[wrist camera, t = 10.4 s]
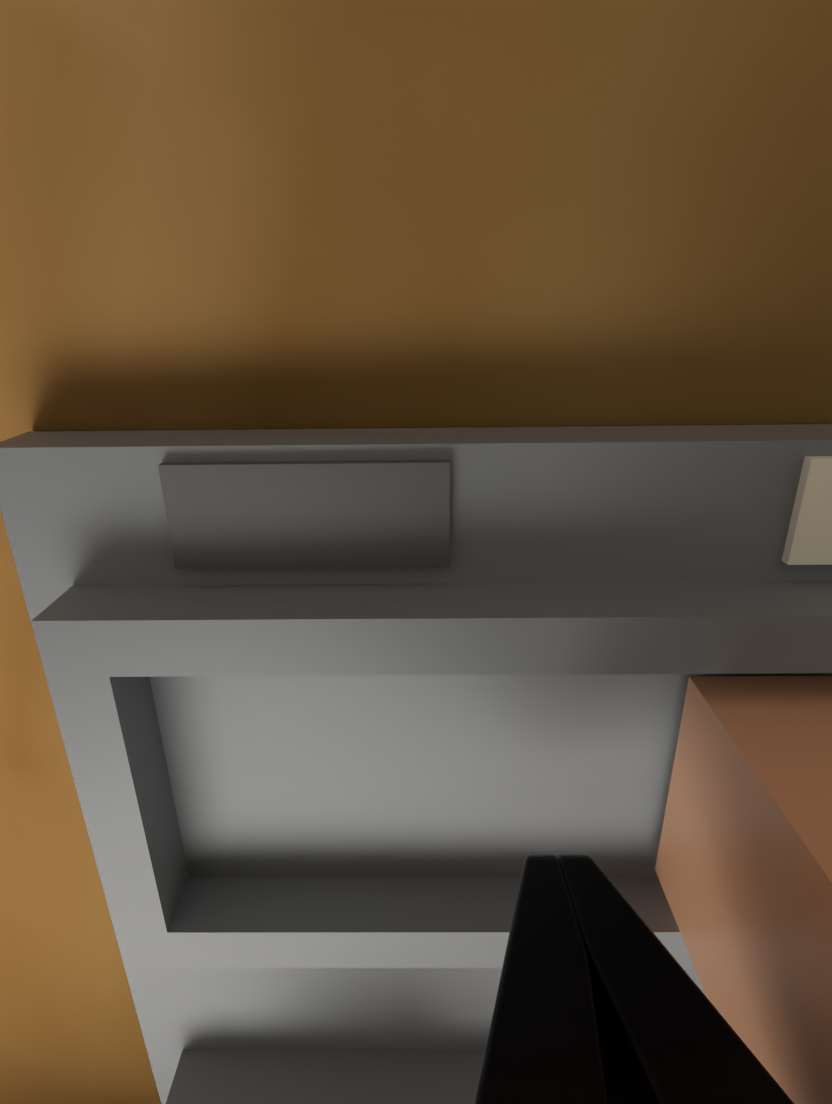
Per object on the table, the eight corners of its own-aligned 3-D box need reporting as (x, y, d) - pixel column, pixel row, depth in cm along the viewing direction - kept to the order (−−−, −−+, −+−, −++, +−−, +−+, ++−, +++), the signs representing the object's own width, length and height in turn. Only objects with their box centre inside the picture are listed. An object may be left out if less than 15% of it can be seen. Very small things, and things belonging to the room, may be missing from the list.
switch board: (841, 1208, 16) (895, 1325, 14) (216, 1205, 16) (189, 1321, 15) (1194, 420, 9) (1404, 455, 7) (29, 431, 9) (-73, 468, 7)
